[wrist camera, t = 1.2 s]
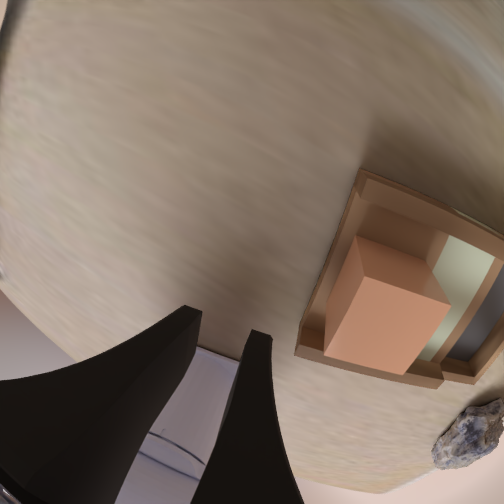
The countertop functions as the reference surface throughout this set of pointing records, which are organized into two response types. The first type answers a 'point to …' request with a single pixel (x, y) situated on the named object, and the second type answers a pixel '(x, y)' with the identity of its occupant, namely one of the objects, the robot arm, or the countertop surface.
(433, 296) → the block
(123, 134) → the countertop surface
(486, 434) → the mineral specimen
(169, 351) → the robot arm
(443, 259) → the channel
